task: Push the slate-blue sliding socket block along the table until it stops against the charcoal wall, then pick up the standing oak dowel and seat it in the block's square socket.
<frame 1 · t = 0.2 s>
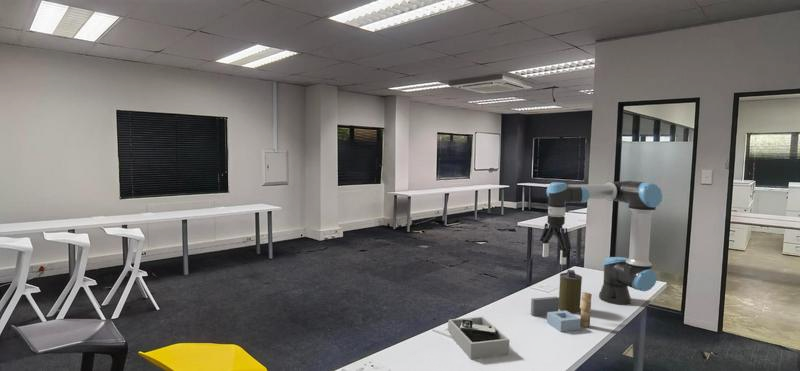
hand: (553, 260, 194), 28 cm above the table, fingers open, 13 cm apart
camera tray: (476, 343, 168), on the table
wall: (544, 314, 200), on the table
block: (563, 320, 187), point 2 cm above the table, slide at 0.0 cm
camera: (477, 343, 168), resting in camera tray
canister: (568, 309, 207), on the table
dowel: (584, 326, 187), on the table
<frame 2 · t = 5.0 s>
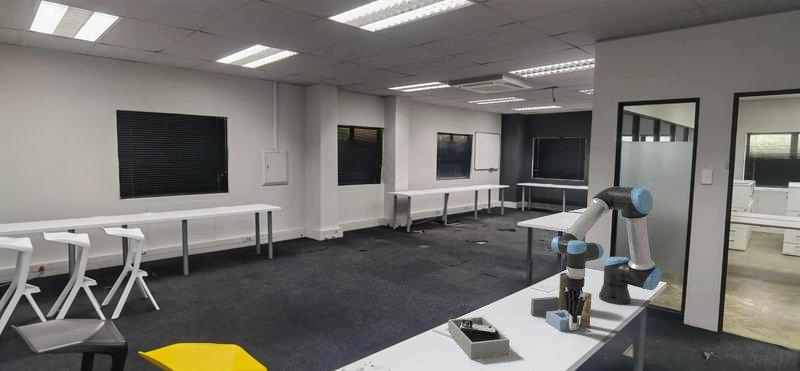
hand: (572, 329, 181), 1 cm above the table, fingers closed
block: (562, 320, 187), point 2 cm above the table, slide at 0.7 cm, touching gripper
everything else where it was.
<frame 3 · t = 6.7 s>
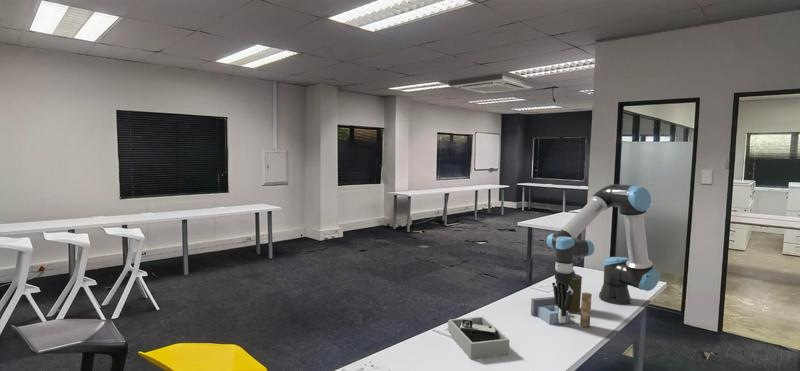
hand: (561, 322, 188), 1 cm above the table, fingers closed
block: (552, 314, 194), point 2 cm above the table, slide at 8.1 cm, touching gripper
everything else where it was.
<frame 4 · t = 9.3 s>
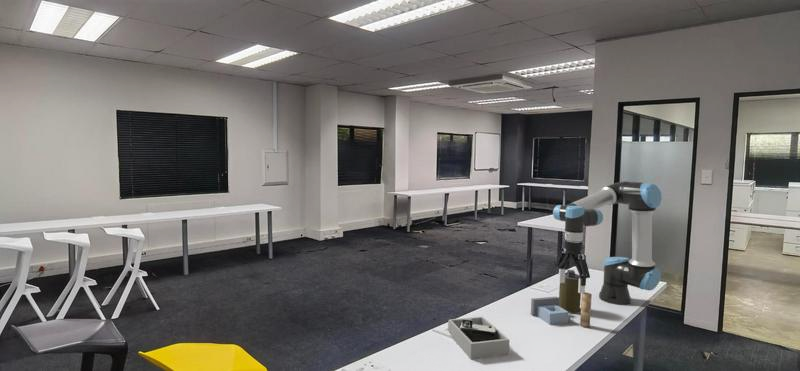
hand: (571, 287, 185), 18 cm above the table, fingers open, 13 cm apart
block: (552, 314, 194), point 2 cm above the table, slide at 8.0 cm
everything else where it was.
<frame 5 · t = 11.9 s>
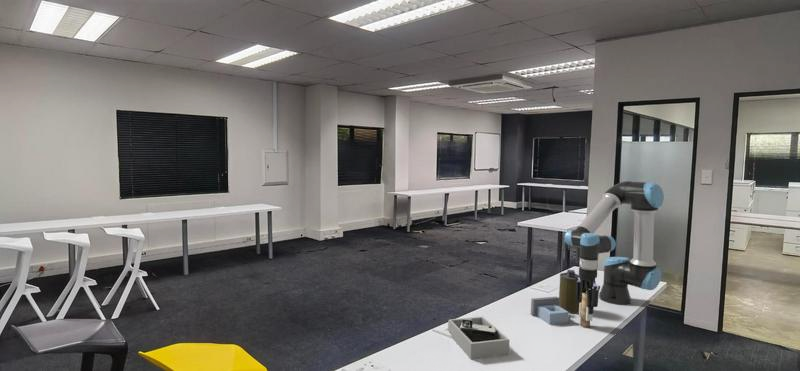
hand: (585, 318, 187), 4 cm above the table, fingers closed on dowel, 4 cm apart
dowel: (584, 325, 187), on the table, touching gripper
everything else where it was.
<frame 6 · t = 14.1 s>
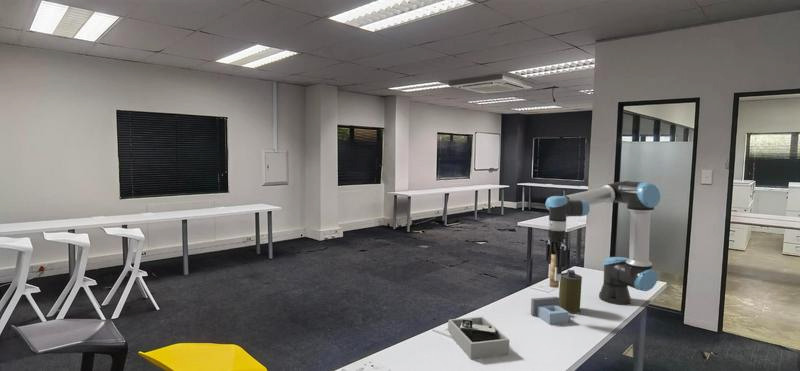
hand: (554, 278, 193), 20 cm above the table, fingers closed on dowel, 4 cm apart
dowel: (554, 286, 193), point 16 cm above the table, touching gripper
everything else where it was.
when the fingers open (7 cm above the table, at t = 16.6 s): dowel drops 2 cm, resting on block.
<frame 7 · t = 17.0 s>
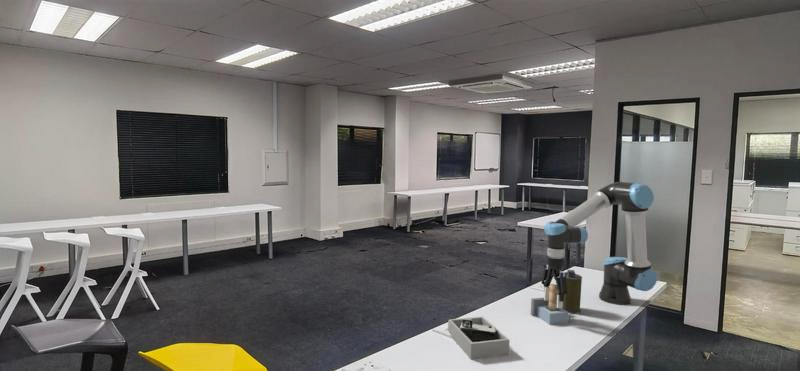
hand: (553, 303, 194), 7 cm above the table, fingers open, 9 cm apart
block: (552, 314, 194), point 2 cm above the table, slide at 8.0 cm, touching dowel
dowel: (552, 316, 194), point 1 cm above the table, touching block
everything else where it was.
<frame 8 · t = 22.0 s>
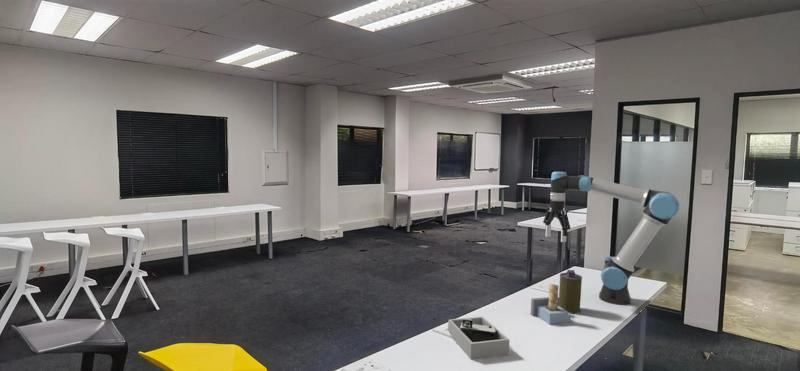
hand: (555, 239, 224), 32 cm above the table, fingers open, 13 cm apart
nothing on the table moved.
at the end: block slide at 8.0 cm; dowel 0.0 cm from the block (horizontally); dowel point 1.2 cm above the table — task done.
